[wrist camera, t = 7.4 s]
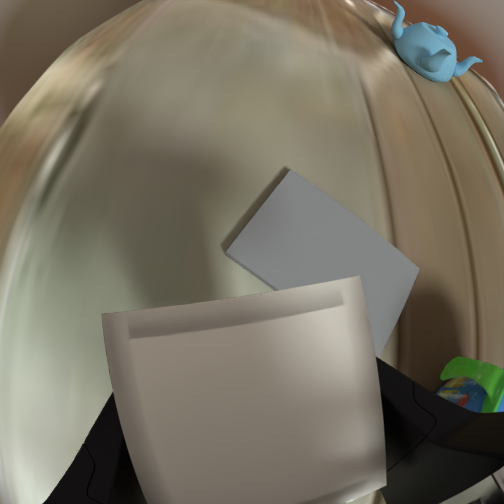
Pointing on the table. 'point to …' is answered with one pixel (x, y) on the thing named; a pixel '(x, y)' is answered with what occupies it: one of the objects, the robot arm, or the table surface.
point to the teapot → (428, 50)
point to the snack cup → (473, 385)
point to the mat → (324, 251)
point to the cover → (251, 397)
